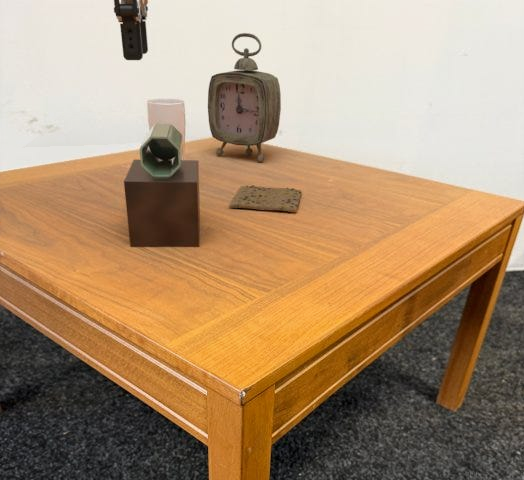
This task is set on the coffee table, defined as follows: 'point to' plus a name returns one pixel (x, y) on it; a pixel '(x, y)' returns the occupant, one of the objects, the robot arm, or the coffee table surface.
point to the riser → (163, 206)
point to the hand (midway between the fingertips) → (136, 56)
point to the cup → (162, 150)
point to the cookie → (267, 198)
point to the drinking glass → (167, 114)
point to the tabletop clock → (244, 104)
